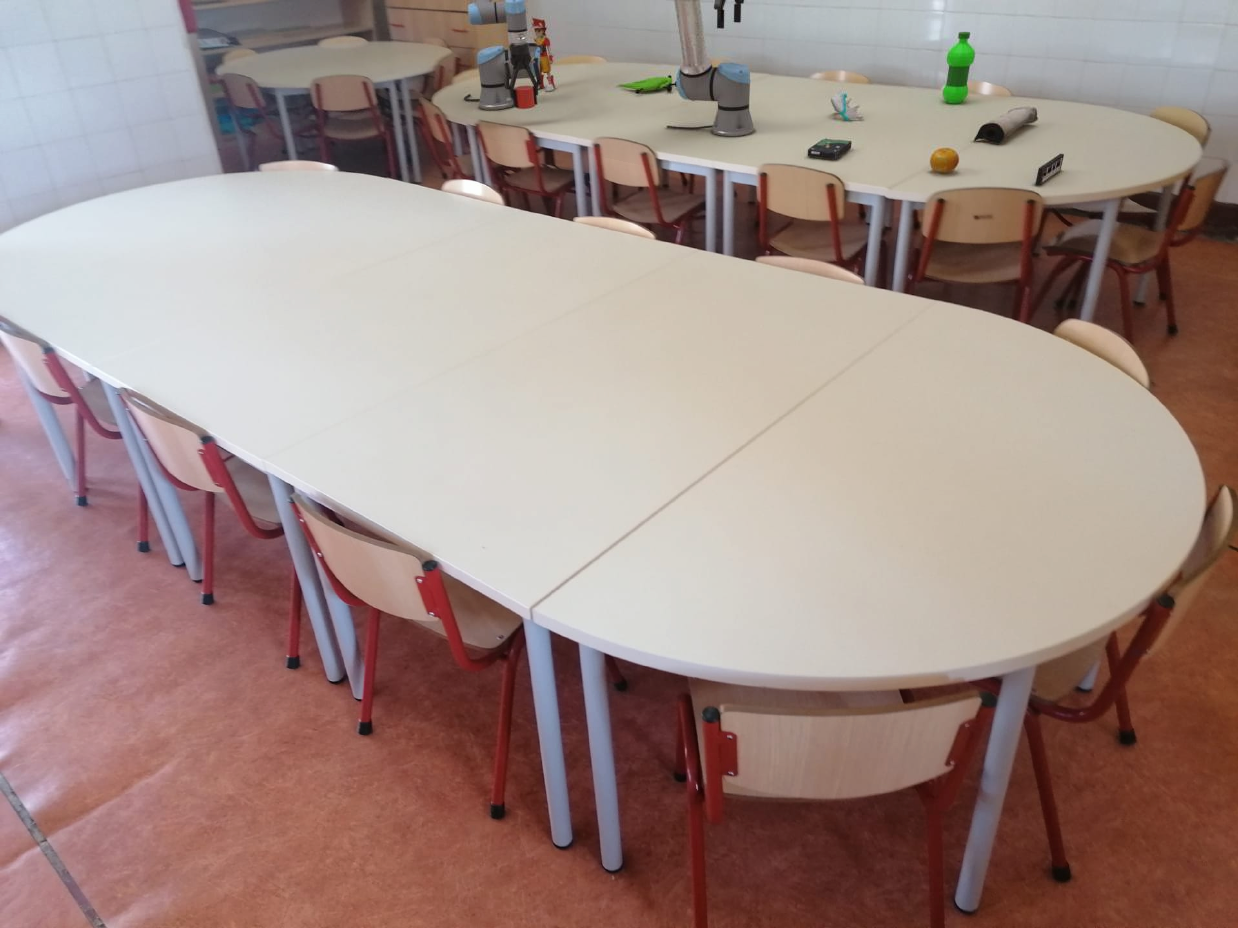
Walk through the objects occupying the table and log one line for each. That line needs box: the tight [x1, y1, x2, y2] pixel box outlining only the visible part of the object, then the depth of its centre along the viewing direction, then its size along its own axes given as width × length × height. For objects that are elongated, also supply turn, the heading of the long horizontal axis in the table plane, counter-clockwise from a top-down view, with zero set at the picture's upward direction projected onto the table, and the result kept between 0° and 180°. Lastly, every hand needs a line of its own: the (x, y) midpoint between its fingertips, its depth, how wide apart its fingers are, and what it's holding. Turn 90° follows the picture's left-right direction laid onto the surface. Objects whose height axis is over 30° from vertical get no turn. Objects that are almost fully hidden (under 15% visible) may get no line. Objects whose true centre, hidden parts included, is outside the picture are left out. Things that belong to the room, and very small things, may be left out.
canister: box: [514, 85, 536, 110], centre depth 355 cm, size 8×8×7 cm
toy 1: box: [531, 17, 556, 92], centre depth 403 cm, size 12×9×30 cm
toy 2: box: [617, 74, 677, 95], centre depth 401 cm, size 28×5×30 cm
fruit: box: [929, 147, 960, 174], centre depth 283 cm, size 8×8×8 cm
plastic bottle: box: [942, 31, 976, 104], centre depth 348 cm, size 10×10×25 cm
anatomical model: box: [830, 89, 864, 121], centre depth 343 cm, size 15×10×10 cm
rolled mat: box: [973, 106, 1039, 145], centre depth 314 cm, size 30×9×10 cm
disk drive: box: [807, 138, 852, 160], centre depth 306 cm, size 10×3×15 cm
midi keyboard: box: [1035, 153, 1065, 186], centre depth 273 cm, size 18×1×5 cm, turn 138°
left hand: (525, 105), depth 357 cm, fingers closed on canister, 7 cm apart
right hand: (729, 25), depth 349 cm, fingers open, 13 cm apart
